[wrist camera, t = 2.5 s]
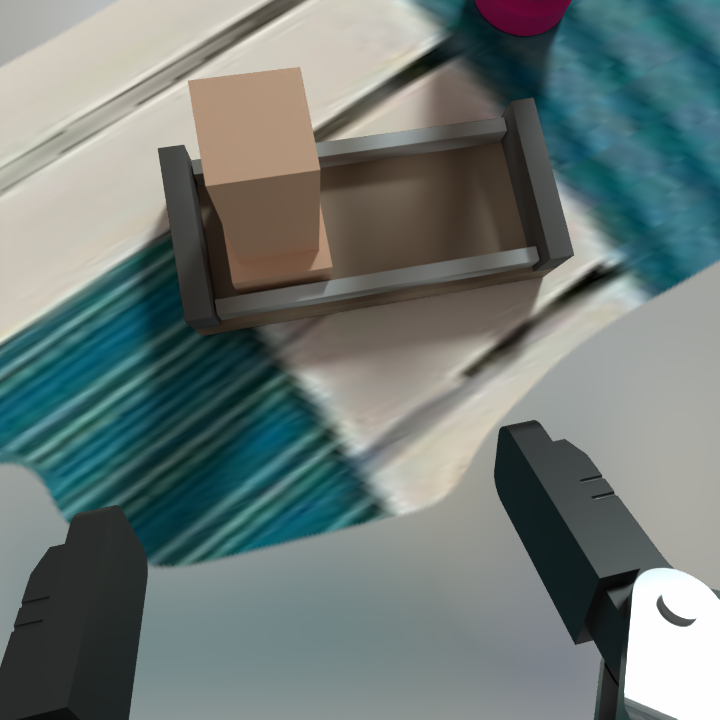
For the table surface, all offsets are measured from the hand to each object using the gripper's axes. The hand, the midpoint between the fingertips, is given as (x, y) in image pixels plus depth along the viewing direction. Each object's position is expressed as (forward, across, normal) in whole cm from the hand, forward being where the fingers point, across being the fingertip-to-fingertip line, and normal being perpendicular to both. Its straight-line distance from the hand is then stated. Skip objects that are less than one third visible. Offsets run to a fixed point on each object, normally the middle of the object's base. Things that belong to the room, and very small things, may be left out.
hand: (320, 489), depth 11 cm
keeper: (+20, 0, +2) cm, 20 cm away
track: (+21, -5, +4) cm, 22 cm away
